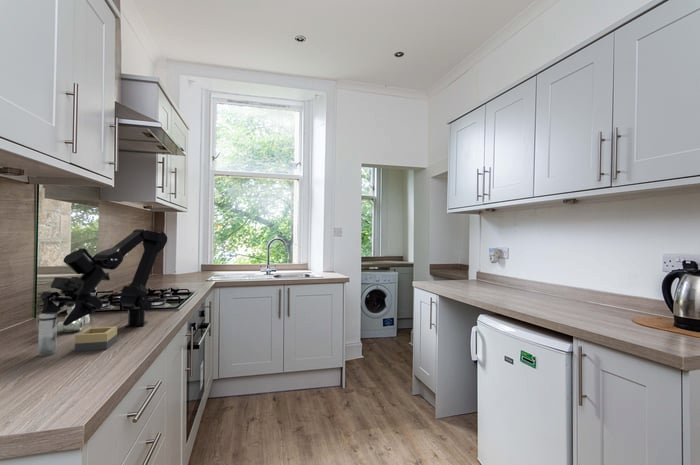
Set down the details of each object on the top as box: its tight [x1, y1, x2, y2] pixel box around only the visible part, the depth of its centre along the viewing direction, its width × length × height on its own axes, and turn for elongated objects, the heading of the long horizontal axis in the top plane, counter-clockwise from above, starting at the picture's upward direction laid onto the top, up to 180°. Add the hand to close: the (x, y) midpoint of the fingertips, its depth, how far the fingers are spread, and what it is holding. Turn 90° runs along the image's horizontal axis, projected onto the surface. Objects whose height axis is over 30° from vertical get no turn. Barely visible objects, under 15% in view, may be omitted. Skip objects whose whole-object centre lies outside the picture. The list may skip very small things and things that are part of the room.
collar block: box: [74, 326, 118, 353], centre depth 108 cm, size 8×8×5 cm
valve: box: [57, 303, 84, 333], centre depth 123 cm, size 7×7×12 cm
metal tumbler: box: [37, 312, 58, 357], centre depth 100 cm, size 4×4×12 cm
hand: (51, 324), depth 101 cm, fingers open, 9 cm apart
